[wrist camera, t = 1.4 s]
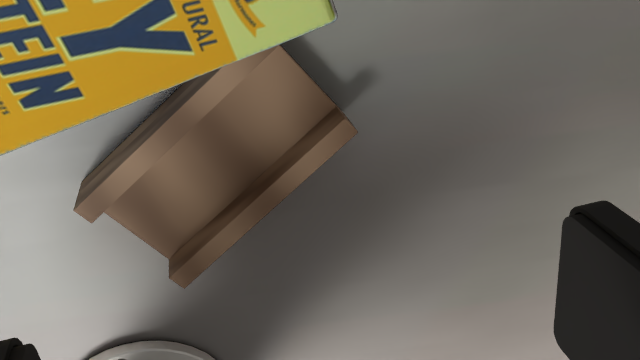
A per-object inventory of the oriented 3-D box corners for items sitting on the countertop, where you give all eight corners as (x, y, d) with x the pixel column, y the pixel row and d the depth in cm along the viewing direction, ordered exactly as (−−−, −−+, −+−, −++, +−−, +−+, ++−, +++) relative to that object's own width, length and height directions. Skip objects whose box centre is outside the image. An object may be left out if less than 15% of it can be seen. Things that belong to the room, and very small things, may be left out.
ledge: (182, 256, 39) (184, 288, 36) (81, 181, 35) (73, 210, 32) (342, 111, 37) (358, 132, 34) (253, 15, 33) (261, 29, 30)
